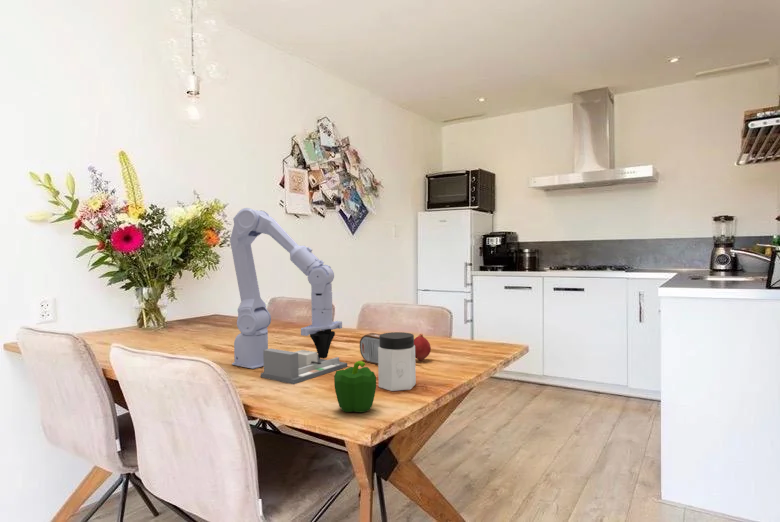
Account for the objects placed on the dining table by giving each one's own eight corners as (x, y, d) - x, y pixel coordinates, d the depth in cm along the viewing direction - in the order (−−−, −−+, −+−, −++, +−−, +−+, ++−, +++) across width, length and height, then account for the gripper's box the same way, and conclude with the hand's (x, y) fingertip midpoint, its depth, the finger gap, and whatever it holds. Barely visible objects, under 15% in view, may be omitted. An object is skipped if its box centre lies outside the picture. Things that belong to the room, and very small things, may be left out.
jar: (382, 392, 104) (381, 339, 103) (375, 382, 112) (374, 333, 111) (420, 389, 106) (419, 337, 105) (411, 379, 114) (410, 331, 113)
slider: (291, 367, 123) (291, 352, 123) (303, 364, 126) (303, 349, 126) (315, 372, 118) (314, 356, 118) (326, 368, 121) (326, 353, 121)
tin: (403, 367, 126) (402, 336, 126) (395, 370, 124) (394, 338, 124) (365, 359, 137) (365, 330, 136) (357, 361, 134) (357, 332, 134)
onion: (407, 362, 131) (407, 334, 131) (414, 358, 137) (414, 331, 137) (427, 364, 129) (427, 335, 129) (433, 359, 135) (433, 332, 134)
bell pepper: (330, 406, 95) (329, 357, 95) (368, 400, 98) (367, 353, 98) (341, 419, 87) (340, 366, 87) (382, 413, 90) (381, 362, 90)
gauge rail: (260, 377, 118) (260, 349, 118) (315, 361, 135) (315, 337, 135) (293, 384, 111) (293, 355, 111) (347, 366, 128) (346, 341, 128)
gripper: (313, 312, 120) (314, 364, 120) (349, 306, 132) (350, 354, 132) (294, 311, 124) (295, 361, 124) (331, 305, 136) (332, 351, 136)
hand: (322, 357), depth 128 cm, fingers closed
